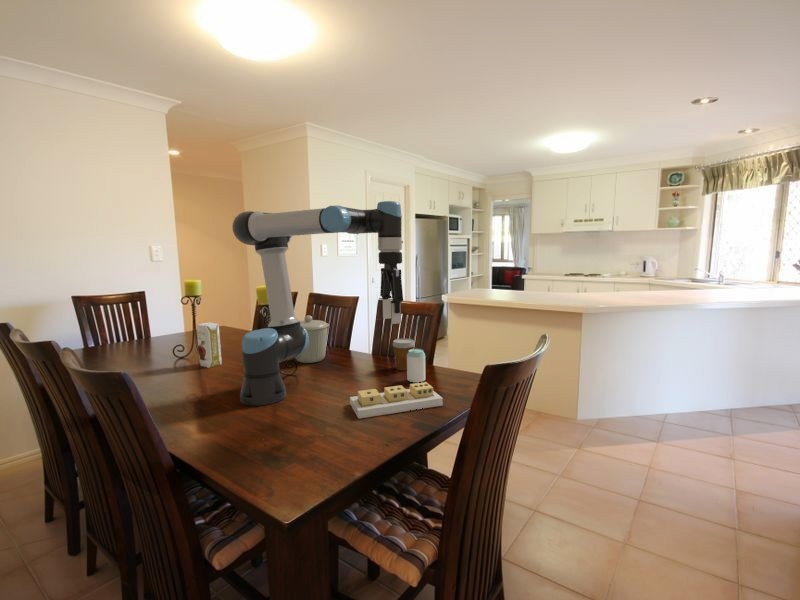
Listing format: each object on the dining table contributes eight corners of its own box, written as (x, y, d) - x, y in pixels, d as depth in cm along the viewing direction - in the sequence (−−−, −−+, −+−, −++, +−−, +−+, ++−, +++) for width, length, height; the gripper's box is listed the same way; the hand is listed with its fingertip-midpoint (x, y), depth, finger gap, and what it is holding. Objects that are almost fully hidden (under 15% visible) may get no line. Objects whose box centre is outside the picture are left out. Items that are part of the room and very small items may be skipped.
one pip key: (362, 408, 125) (362, 397, 124) (358, 401, 130) (357, 390, 130) (381, 405, 127) (380, 394, 126) (375, 398, 132) (375, 388, 132)
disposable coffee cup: (419, 367, 173) (418, 339, 171) (407, 372, 165) (407, 344, 164) (400, 363, 178) (400, 337, 177) (388, 369, 170) (387, 341, 169)
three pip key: (416, 400, 130) (416, 389, 130) (409, 394, 136) (409, 383, 136) (433, 398, 132) (433, 387, 132) (426, 391, 138) (426, 381, 138)
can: (424, 384, 151) (423, 353, 150) (405, 383, 153) (405, 352, 151) (426, 378, 158) (426, 348, 156) (409, 377, 159) (408, 347, 158)
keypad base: (358, 418, 122) (358, 410, 121) (350, 404, 133) (349, 397, 132) (442, 405, 131) (442, 398, 130) (428, 393, 142) (428, 386, 142)
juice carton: (213, 361, 186) (210, 321, 184) (224, 364, 181) (221, 323, 179) (197, 365, 180) (194, 324, 178) (207, 369, 175) (204, 326, 173)
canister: (293, 356, 194) (291, 313, 191) (331, 354, 196) (329, 311, 193) (287, 367, 176) (284, 319, 174) (328, 365, 178) (327, 318, 175)
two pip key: (390, 404, 128) (390, 393, 127) (384, 397, 133) (384, 387, 133) (407, 401, 129) (407, 390, 129) (401, 395, 135) (401, 384, 135)
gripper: (413, 251, 119) (414, 325, 122) (390, 251, 140) (392, 314, 142) (389, 251, 117) (391, 327, 120) (370, 251, 137) (371, 316, 140)
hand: (391, 320), depth 131 cm, fingers open, 9 cm apart
